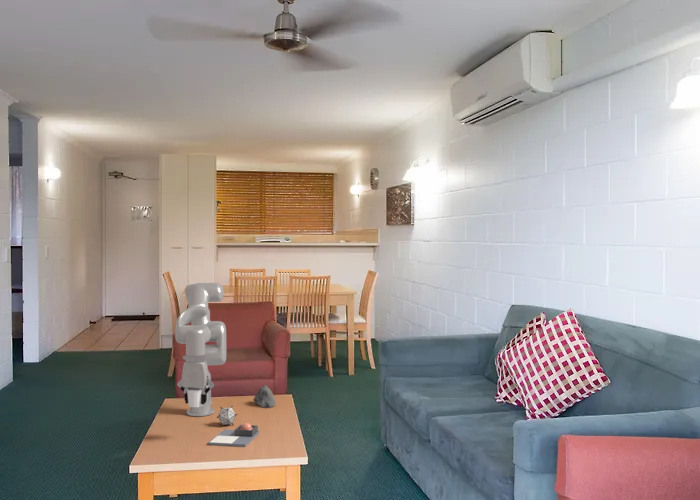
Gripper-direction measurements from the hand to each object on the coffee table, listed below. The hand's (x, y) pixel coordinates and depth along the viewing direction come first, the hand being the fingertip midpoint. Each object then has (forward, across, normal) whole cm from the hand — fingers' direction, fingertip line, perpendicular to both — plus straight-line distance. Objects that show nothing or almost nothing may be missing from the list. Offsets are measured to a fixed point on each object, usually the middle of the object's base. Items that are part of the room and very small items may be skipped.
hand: (195, 402), depth 262 cm
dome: (+12, +20, +5) cm, 24 cm away
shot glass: (+1, 0, 0) cm, 1 cm away
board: (+14, +16, 0) cm, 21 cm away
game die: (+15, +6, +19) cm, 25 cm away
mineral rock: (+15, +12, +56) cm, 59 cm away
